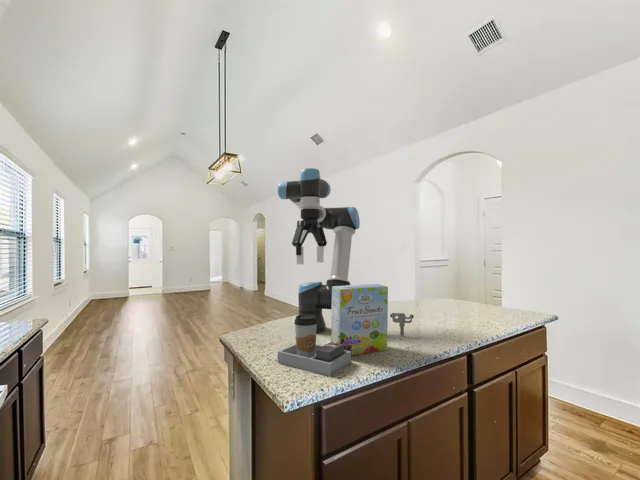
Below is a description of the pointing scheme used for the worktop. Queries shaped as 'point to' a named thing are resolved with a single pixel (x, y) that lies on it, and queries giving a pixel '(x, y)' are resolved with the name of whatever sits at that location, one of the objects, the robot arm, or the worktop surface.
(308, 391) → the worktop surface
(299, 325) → the coffee cup
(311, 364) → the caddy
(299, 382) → the worktop surface
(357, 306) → the snack box
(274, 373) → the worktop surface
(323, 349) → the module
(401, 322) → the mechanical component
